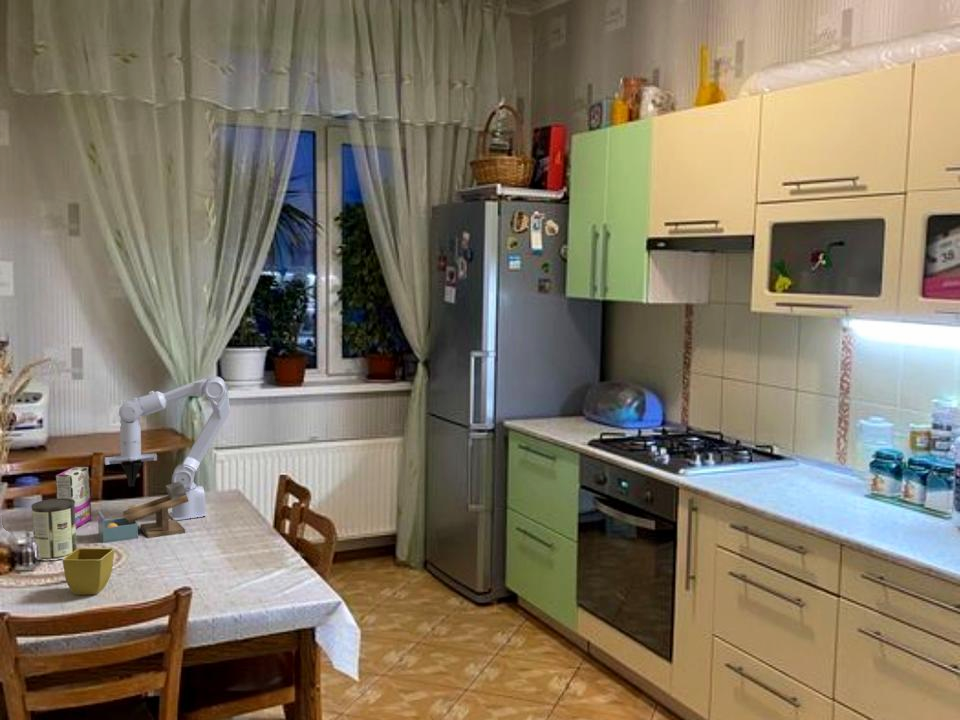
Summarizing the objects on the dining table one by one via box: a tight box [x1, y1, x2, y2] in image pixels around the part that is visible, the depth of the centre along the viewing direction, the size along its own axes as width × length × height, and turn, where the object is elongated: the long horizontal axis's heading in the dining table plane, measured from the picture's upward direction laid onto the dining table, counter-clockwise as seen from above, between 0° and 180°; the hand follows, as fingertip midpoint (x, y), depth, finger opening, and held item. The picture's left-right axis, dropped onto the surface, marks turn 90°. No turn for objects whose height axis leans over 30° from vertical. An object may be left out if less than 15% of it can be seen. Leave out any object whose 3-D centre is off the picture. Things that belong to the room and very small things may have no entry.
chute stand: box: [139, 507, 186, 539], centre depth 256 cm, size 10×12×8 cm
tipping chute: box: [122, 481, 189, 523], centre depth 257 cm, size 17×12×5 cm
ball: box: [106, 523, 118, 528], centre depth 249 cm, size 4×4×4 cm
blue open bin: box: [97, 510, 139, 544], centre depth 250 cm, size 9×9×7 cm
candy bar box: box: [55, 466, 92, 530], centre depth 261 cm, size 11×5×16 cm, turn 179°
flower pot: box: [62, 547, 115, 595], centre depth 206 cm, size 9×9×9 cm
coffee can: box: [31, 498, 78, 560], centre depth 233 cm, size 10×10×14 cm
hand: (131, 486), depth 267 cm, fingers closed
